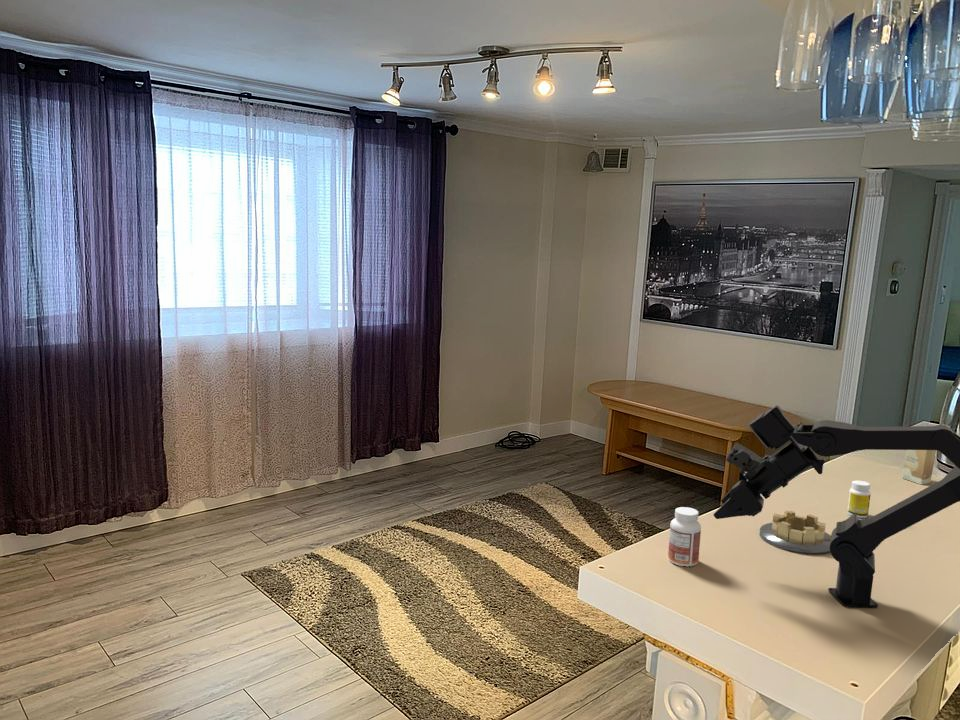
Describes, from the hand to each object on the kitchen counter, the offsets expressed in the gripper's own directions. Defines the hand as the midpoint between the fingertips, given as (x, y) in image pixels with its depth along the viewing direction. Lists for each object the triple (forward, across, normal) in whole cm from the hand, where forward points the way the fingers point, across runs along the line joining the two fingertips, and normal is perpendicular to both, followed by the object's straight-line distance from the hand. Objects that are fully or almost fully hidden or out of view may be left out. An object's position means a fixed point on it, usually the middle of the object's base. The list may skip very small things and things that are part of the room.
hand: (718, 509), depth 147 cm
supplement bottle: (-10, -51, +28) cm, 59 cm away
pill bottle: (+14, 0, +5) cm, 14 cm away
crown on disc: (-1, -26, +19) cm, 32 cm away
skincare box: (-21, -92, +39) cm, 102 cm away
